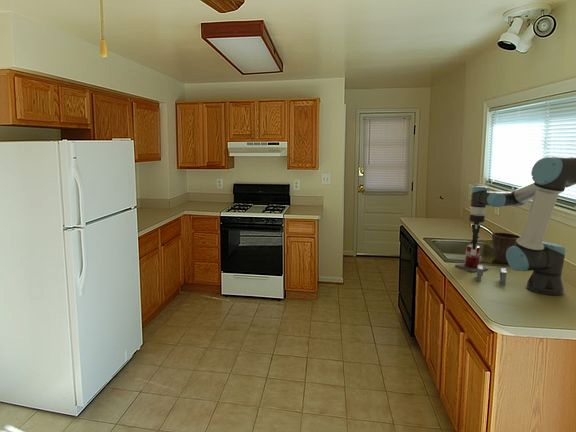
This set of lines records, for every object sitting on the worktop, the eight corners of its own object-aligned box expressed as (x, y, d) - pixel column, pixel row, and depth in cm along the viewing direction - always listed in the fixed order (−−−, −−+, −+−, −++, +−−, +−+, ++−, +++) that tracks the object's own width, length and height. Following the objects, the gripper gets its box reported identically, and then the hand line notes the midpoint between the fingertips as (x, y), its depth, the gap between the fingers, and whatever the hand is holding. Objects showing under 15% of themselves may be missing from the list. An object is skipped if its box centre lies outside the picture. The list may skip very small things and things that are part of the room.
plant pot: (508, 257, 253) (511, 232, 250) (522, 265, 239) (526, 238, 236) (484, 257, 253) (487, 232, 250) (497, 264, 238) (500, 237, 235)
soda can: (466, 264, 234) (468, 243, 232) (479, 266, 230) (482, 245, 228) (462, 266, 228) (465, 246, 226) (477, 269, 224) (479, 248, 222)
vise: (505, 285, 203) (506, 272, 201) (476, 281, 208) (477, 268, 207) (504, 280, 210) (505, 268, 209) (476, 276, 215) (478, 264, 214)
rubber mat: (487, 270, 226) (488, 268, 226) (472, 272, 221) (472, 271, 221) (470, 264, 237) (470, 262, 237) (454, 266, 232) (455, 264, 232)
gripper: (470, 210, 236) (466, 246, 240) (469, 216, 214) (465, 256, 217) (484, 212, 233) (481, 248, 237) (485, 218, 211) (480, 258, 214)
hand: (473, 252), depth 227 cm, fingers open, 13 cm apart
